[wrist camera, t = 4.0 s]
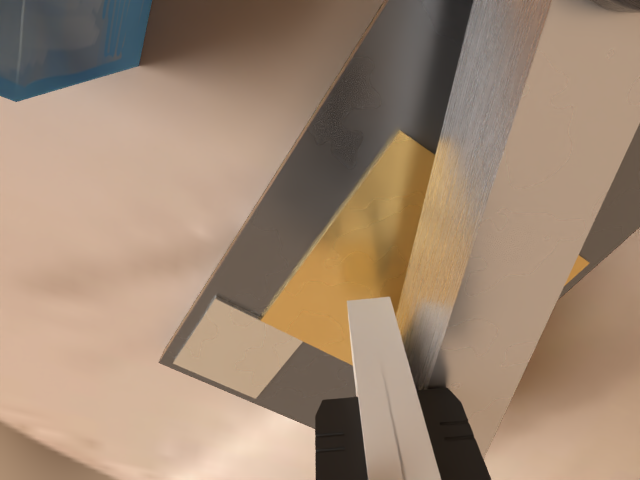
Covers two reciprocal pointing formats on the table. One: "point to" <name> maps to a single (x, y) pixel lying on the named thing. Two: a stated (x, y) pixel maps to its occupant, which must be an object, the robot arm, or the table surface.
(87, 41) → the perfume bottle
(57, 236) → the table surface
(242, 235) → the tray
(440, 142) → the swing arm
